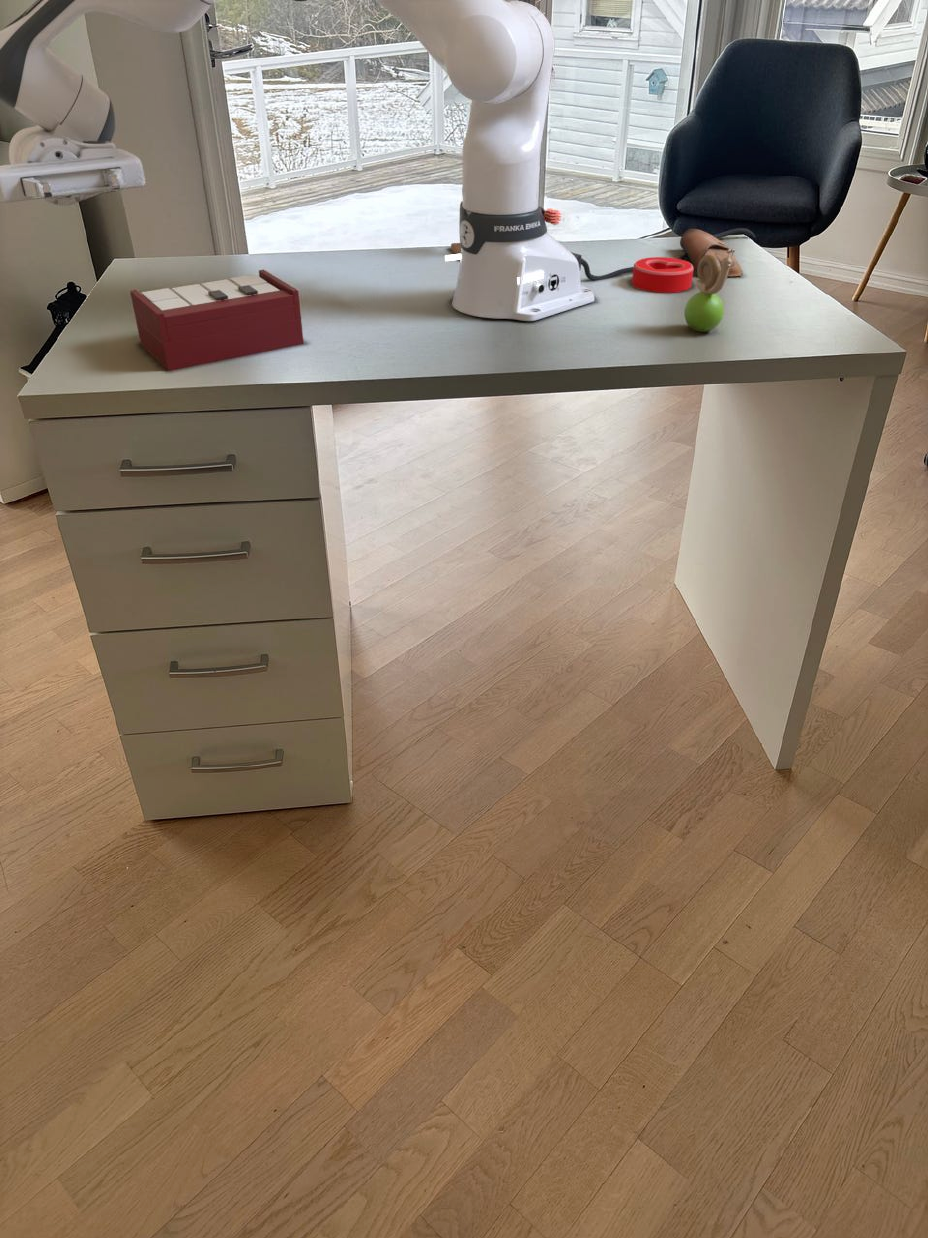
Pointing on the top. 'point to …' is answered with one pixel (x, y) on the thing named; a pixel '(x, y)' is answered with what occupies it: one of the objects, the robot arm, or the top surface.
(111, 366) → the top surface
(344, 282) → the top surface
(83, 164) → the robot arm
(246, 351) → the toy piano
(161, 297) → the f key
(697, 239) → the sunglasses case
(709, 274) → the snail figurine
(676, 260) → the decorative ornament
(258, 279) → the c key
